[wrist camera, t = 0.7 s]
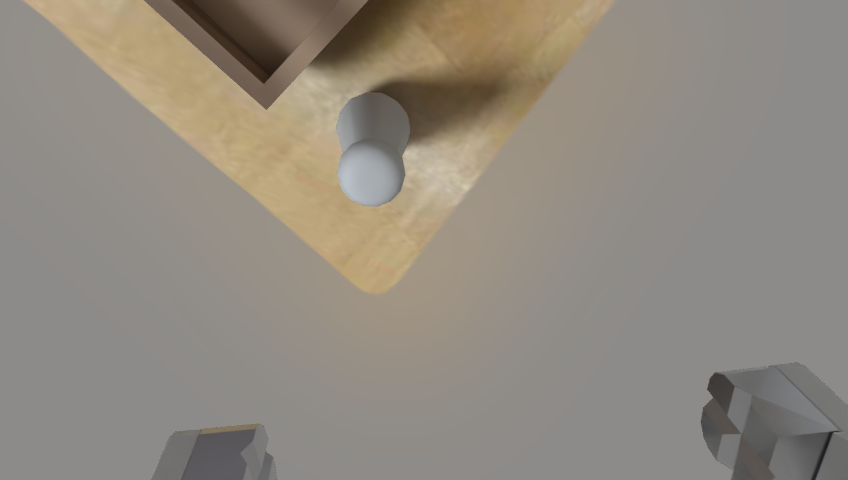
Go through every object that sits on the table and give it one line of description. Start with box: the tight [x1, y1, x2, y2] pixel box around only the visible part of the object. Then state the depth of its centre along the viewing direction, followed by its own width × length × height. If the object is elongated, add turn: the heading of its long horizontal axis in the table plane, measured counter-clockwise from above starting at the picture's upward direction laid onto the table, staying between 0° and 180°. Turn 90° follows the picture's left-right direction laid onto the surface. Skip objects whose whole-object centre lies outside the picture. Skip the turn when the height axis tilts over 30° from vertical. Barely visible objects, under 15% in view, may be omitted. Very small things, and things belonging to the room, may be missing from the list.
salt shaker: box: [336, 93, 411, 206], centre depth 40 cm, size 6×6×13 cm
